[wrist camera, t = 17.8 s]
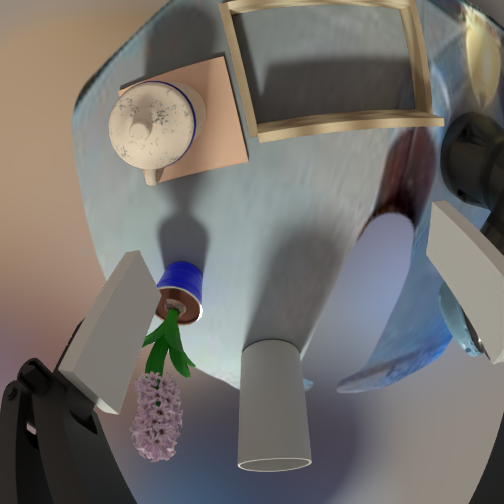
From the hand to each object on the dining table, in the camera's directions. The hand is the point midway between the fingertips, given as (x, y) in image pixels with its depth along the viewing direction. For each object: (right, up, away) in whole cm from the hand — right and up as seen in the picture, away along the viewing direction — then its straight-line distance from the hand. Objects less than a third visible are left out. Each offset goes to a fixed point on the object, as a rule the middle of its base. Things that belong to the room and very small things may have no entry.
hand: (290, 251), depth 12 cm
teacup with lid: (-12, +16, +20) cm, 28 cm away
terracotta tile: (-10, +16, +20) cm, 28 cm away
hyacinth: (-13, -4, +34) cm, 37 cm away
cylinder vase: (+2, -22, +46) cm, 51 cm away
